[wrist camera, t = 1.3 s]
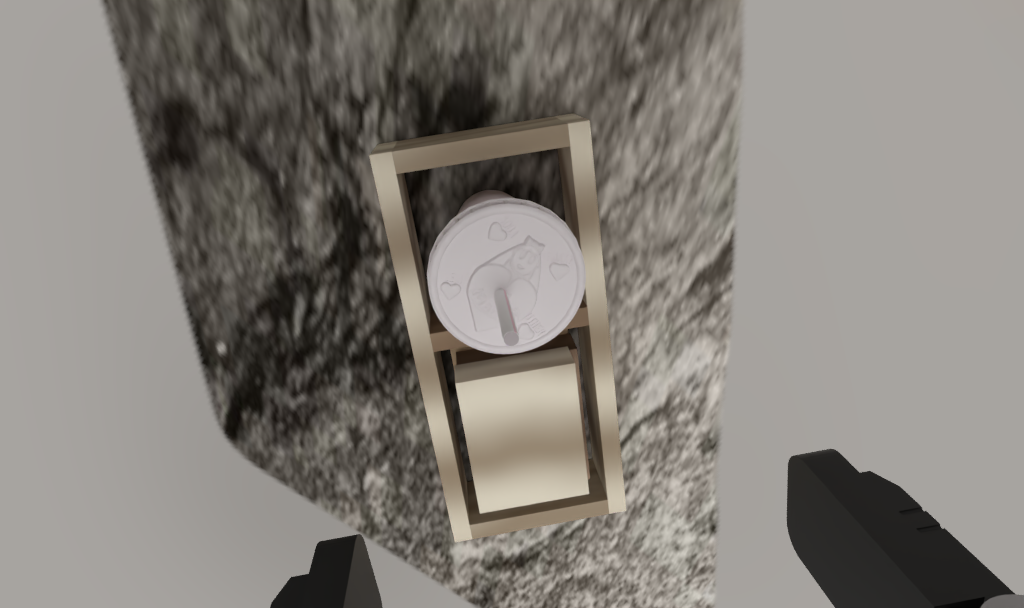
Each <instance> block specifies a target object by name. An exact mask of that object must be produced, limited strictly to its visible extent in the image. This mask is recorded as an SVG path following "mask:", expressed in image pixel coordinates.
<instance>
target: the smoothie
mask: <svg viewBox="0 0 1024 608" xmlns="http://www.w3.org/2000/svg"><path fill="white" fill-rule="evenodd" d="M427 280H428V289H429V296H430V300H431V303H432V306H433V309H434V311H435V313H436V315H437V317H438V318H439V320H440V321H441V323H442V324H443V326H444V327H445V328H446V329H447V330H448V331H449V332H450V333H451V334H452V335H453V336H454V337H456V338H457V339H458V340H460V341H461V342H463V343H464V344H466V345H468V346H470V347H472V348H475V349H477V350H480V351H484V352H488V353H494V354H514V353H521V352H525V351H529V350H532V349H534V348H537V347H539V346H541V345H543V344H545V343H547V342H549V341H550V340H552V339H553V338H554V337H556V336H557V335H558V334H559V333H560V332H562V331H563V330H564V329H565V328H566V326H567V325H568V324H569V323H570V322H571V320H572V319H573V317H574V316H575V314H576V312H577V310H578V308H579V306H580V304H581V301H582V298H583V295H584V290H585V283H586V270H585V263H584V259H583V255H582V252H581V250H580V248H579V245H578V242H577V239H576V238H575V236H574V235H573V233H572V232H571V230H570V229H569V227H568V226H567V224H566V223H565V222H564V221H563V220H562V219H560V218H559V217H558V216H557V215H556V214H555V213H553V212H552V211H551V210H550V209H547V208H545V207H543V206H541V205H539V204H537V203H534V202H532V201H528V200H522V199H516V198H514V197H512V196H510V195H509V194H507V193H505V192H502V191H498V190H484V191H480V192H478V193H476V194H474V195H472V196H471V197H469V198H468V199H467V200H466V201H465V202H464V203H463V205H462V206H461V208H460V210H459V212H458V214H457V216H455V217H454V218H453V219H451V220H450V222H449V223H448V224H447V225H446V227H445V228H444V229H443V230H442V231H441V233H440V234H439V235H438V237H437V239H436V241H435V243H434V246H433V248H432V250H431V252H430V255H429V262H428V269H427Z"/></svg>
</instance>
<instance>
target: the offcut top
mask: <svg viewBox="0 0 1024 608" xmlns="http://www.w3.org/2000/svg"><path fill="white" fill-rule="evenodd" d="M454 367H455V385H456V390H457V395H458V401H459V406H460V411H461V416H462V422H463V427H464V432H465V438H466V443H467V448H468V453H469V459H470V464H471V469H472V475H473V480H474V485H475V490H476V496H477V501H478V506H479V512H480V514H481V513H486V512H492V511H497V510H503V509H508V508H514V507H519V506H525V505H531V504H536V503H542V502H547V501H553V500H558V499H564V498H569V497H575V496H580V495H586V494H589V487H588V478H587V469H586V460H585V450H584V441H583V432H582V423H581V414H580V404H579V395H578V386H577V377H576V368H575V362H574V360H573V358H572V355H571V353H570V351H569V349H568V346H566V347H561V348H555V349H549V350H543V351H537V352H531V353H525V354H519V355H513V356H507V357H501V358H495V359H489V360H483V361H477V362H471V363H466V364H460V365H454Z"/></svg>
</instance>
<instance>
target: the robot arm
mask: <svg viewBox="0 0 1024 608" xmlns="http://www.w3.org/2000/svg"><path fill="white" fill-rule="evenodd" d="M787 492H788V493H787V527H788V532H789V536H790V539H791V542H792V545H793V547H794V549H795V551H796V553H797V555H798V556H799V558H800V559H801V561H802V562H803V564H804V565H805V566H806V568H807V569H808V570H809V572H810V573H811V575H812V576H813V577H814V579H815V580H816V582H817V583H818V584H819V586H820V587H821V589H822V590H823V591H824V593H825V594H826V596H827V597H828V598H829V600H830V601H831V602H832V604H833V605H834V607H835V608H1024V595H1016V594H1015V593H1013V592H1012V591H1011V590H1010V589H1009V588H1008V587H1007V586H1006V585H1005V584H1004V583H1003V582H1002V581H1000V580H999V579H998V578H997V577H996V576H995V575H994V574H993V573H992V572H991V571H990V570H989V569H987V567H985V566H984V565H983V564H982V563H981V562H980V561H979V560H978V559H977V558H976V557H975V556H974V555H973V554H972V553H970V552H969V551H968V550H967V549H966V548H965V547H964V546H963V545H962V544H961V543H960V542H959V541H958V540H956V539H955V538H954V537H953V536H952V535H951V534H950V533H949V532H948V531H947V530H946V529H942V528H941V527H940V524H939V523H938V522H937V521H936V520H935V519H934V518H933V517H932V516H931V515H930V514H929V513H928V512H926V511H925V512H924V511H923V510H922V507H921V506H920V505H919V504H918V503H917V502H916V501H915V500H913V498H911V497H910V496H909V495H908V494H907V493H906V492H905V491H904V490H903V489H902V488H901V487H899V486H898V485H896V484H894V483H892V482H890V481H888V480H886V479H884V478H882V477H880V476H878V475H877V474H875V473H873V472H871V471H867V472H862V473H859V472H858V471H857V470H856V469H855V468H854V467H853V466H852V465H851V464H850V463H849V462H848V461H847V460H846V459H845V458H844V457H843V456H842V455H841V454H840V453H839V452H838V451H836V450H834V449H827V450H822V451H817V452H811V453H806V454H800V455H795V456H792V457H791V458H790V460H789V463H788V491H787ZM270 608H382V602H381V597H380V593H379V590H378V587H377V583H376V580H375V576H374V573H373V569H372V566H371V562H370V559H369V555H368V552H367V548H366V545H365V542H364V539H363V537H362V536H361V535H360V534H358V535H353V536H347V537H342V538H337V539H331V540H326V541H320V542H319V543H318V544H317V546H316V549H315V553H314V557H313V560H312V564H311V568H310V572H309V574H306V575H300V576H295V577H291V578H290V579H289V580H288V582H287V583H286V585H285V586H284V587H283V589H282V590H281V591H280V592H279V594H278V595H277V596H276V598H275V599H274V600H273V602H272V604H271V607H270Z"/></svg>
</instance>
